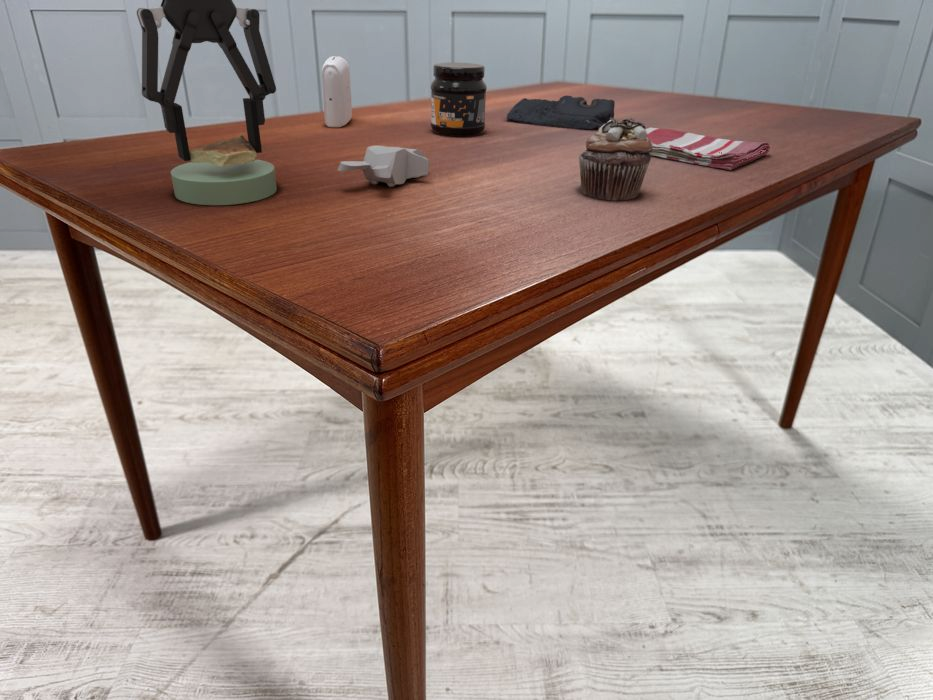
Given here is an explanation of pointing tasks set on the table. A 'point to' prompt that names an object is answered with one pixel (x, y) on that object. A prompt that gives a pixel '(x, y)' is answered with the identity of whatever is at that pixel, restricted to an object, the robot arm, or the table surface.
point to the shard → (224, 152)
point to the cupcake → (615, 161)
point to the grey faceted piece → (389, 164)
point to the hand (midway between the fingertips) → (221, 154)
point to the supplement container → (458, 99)
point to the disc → (223, 182)
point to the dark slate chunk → (563, 112)
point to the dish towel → (703, 148)
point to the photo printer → (336, 92)
